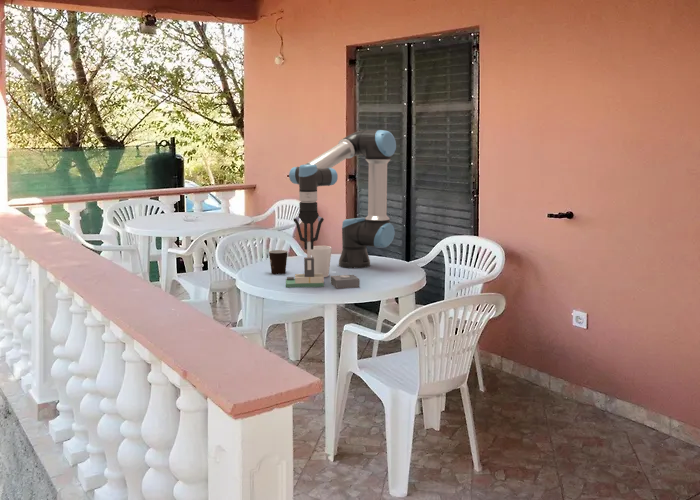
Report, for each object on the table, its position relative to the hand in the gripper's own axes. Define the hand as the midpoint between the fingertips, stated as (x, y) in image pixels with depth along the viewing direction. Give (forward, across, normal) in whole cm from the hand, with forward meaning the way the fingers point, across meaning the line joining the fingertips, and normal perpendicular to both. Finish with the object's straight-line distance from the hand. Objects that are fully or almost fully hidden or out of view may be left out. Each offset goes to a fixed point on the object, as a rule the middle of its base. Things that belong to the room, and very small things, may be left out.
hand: (309, 257), depth 320 cm
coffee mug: (+12, -13, +29) cm, 34 cm away
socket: (+11, 0, 0) cm, 11 cm away
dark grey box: (+12, +15, -3) cm, 19 cm away
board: (+12, -2, +1) cm, 12 cm away
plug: (+11, 0, 0) cm, 11 cm away
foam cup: (+12, +6, +19) cm, 23 cm away
